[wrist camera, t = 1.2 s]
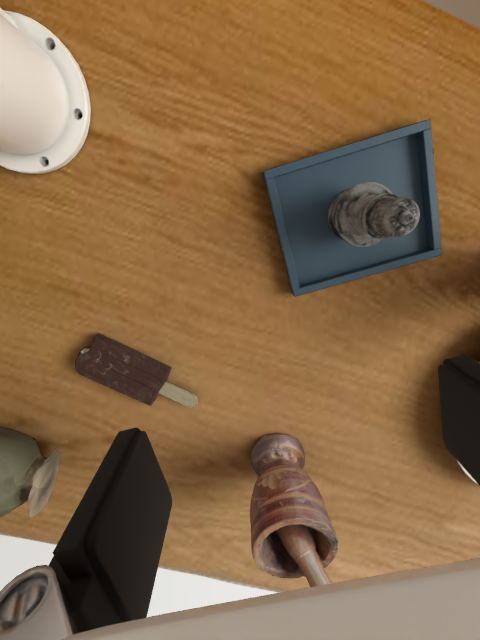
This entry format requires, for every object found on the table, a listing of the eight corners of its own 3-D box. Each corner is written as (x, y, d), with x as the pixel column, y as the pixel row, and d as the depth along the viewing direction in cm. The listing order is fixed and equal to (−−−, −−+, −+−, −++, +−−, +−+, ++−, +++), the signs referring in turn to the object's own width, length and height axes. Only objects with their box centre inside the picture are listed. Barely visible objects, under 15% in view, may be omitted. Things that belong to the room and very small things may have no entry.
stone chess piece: (315, 229, 35) (355, 240, 23) (342, 174, 33) (400, 157, 22) (363, 252, 36) (424, 273, 24) (391, 199, 34) (472, 194, 23)
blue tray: (262, 172, 33) (263, 171, 32) (421, 122, 32) (430, 118, 31) (291, 293, 37) (294, 297, 36) (433, 253, 36) (442, 255, 35)
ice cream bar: (207, 383, 41) (92, 329, 38) (206, 390, 39) (86, 334, 37) (188, 415, 42) (76, 364, 40) (186, 422, 41) (70, 371, 38)
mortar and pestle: (339, 450, 45) (418, 628, 26) (309, 495, 47) (360, 687, 28) (264, 421, 43) (289, 589, 24) (236, 469, 45) (239, 656, 26)
